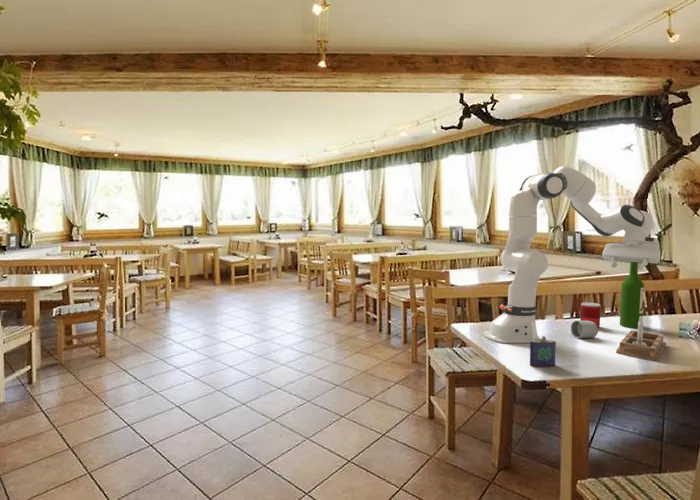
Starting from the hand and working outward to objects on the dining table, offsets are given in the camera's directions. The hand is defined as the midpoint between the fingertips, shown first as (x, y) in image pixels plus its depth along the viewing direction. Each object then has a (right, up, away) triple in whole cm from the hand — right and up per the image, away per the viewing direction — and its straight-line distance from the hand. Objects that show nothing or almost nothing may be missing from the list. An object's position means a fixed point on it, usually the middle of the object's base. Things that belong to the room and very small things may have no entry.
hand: (626, 267), depth 171 cm
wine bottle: (+20, -29, +27) cm, 45 cm away
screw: (-2, -31, -11) cm, 33 cm away
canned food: (0, -30, +26) cm, 40 cm away
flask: (-46, -34, -24) cm, 62 cm away
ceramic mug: (-13, -31, +10) cm, 35 cm away
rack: (+1, -32, -7) cm, 33 cm away
